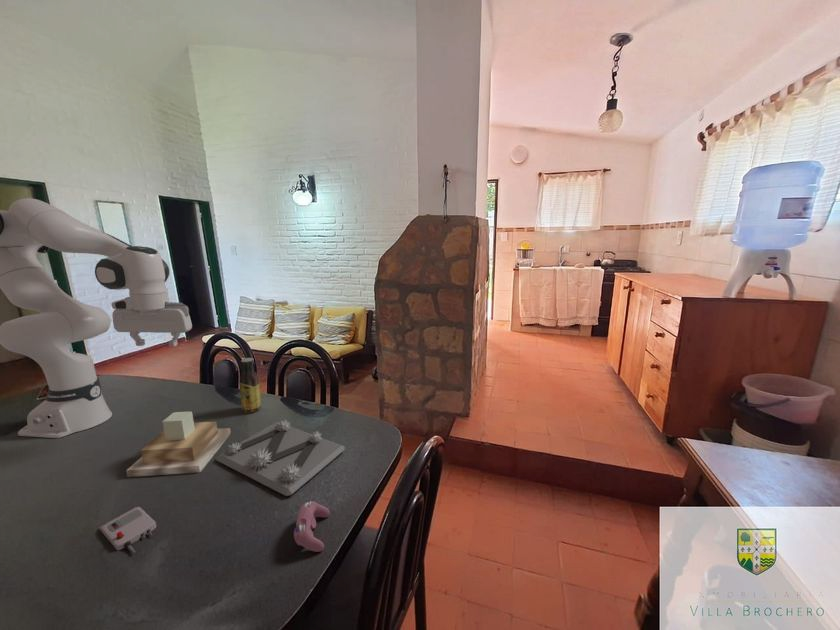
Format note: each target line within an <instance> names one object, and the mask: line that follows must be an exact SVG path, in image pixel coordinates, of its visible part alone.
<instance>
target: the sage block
mask: <svg viewBox="0 0 840 630" xmlns="http://www.w3.org/2000/svg"><path fill="white" fill-rule="evenodd" d="M161 422H162V426H163V431H164V433H165V438H166V441H169V440H185V439H186V438H187V437H188V436H189V435H190V434H191V433H192V432H193V431H194V430H195V427H194V423H195V421H194V415H193V411H175V412H172V413H171V414H170V415H169V416H167V417H166V418H165V419H163V420H162V421H161Z"/></svg>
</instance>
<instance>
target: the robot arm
mask: <svg viewBox="0 0 840 630" xmlns="http://www.w3.org/2000/svg"><path fill="white" fill-rule="evenodd" d="M51 249H52V250H54V251H56V252H61V253H70V254H71V253H73V254H88V255H89V254H91V255H99V256H105V257H106V258H101V259H100V260H99V261H97V263H96V264H95V267H94V276H95V279H96V281H97V282H98V283H99V284H100V285H101V286H103V287H104V288H106V289H108V290H116V291H120V290H127V289H128V290H129V292H128V293H129V296H127V297H125V298H122V299H120V300H115V301H113V302H111V307H112V309H114V310H113V311H112V314H111V315H112V316H111V317H112V318H111V317H110V315H109V314H108V313H107V312H106V311H105V309H103V308H101V307H97V306H92V305H90V304H87V303H84V302H82V301H79V300H77V299H76V298H74V297H72V296H71V295H69V294H67V292H64V290H62V289H61V287H60V286H59V285H58V284H57V283H56V281H54V280H53V278H52V277H51V275H50V274H49V272H47V270H46V268H45V267H44V266H43V265H42V264H41V262H40V260H39V259H38V257H37V253H39V254H46V253H49V252H50V250H51ZM169 276H170V268H169V265H168V264H167V263H166V261H165V260H164V259H163V258H162V257H161V254H160V252H159V251H158V250H157V249H155V248H152V247H148V246H140V245H131V244H129V243H127V242H126V241H123V240H121V239H119V238H118V237H115V236H113V235H112V234H109V233H106V232H104V231H101V230H100V229H97V228H95V227H92V226H90V225H88V224H86V223H84V222H83V221H81V220H79V219H76V218H75V217H73V216H71V215H70V214H68V213H66V212H65V211H63V210H62V209H60V208H58V207H56V206H54V205H52V204H49V203H47V202H45V201H43V200H40V199H36V198H33V197H32V198H31V197H30V198H29V197H27V198H26V197H25V198H24V197H23V198H19V199H17V200H15V201H14V202H12V203H11V204H10V205H9V208H8V210H4V209H0V290H1V292H2V293H3V294H4V296H5V297H6V298H7V299H8V301H9V302H10V303H11V304H13V305H14V306H16V308H17V307H18V308H20V309H25V310H29V311H30V310H31V311H35V312H38V313H36V314H35V313H34V314H29V315H24V316H20V317H17V318H14V319H10V320H7V321H4V322H2V323H1V325H0V345H1V346H2V347H3V348H4V349H5V350H7V351H10V352H12V353H15V354H18V355H19V354H20V355H23V356H26V357H28V358H30V359H31V360H34V361H35V363H37V364H38V365H39V367H40V368H41V370H42V372H43V374H44V376H45V379H46V382H47V386H48V387H47V389H45V390H42V391H41V392H40V394H41V396H44V395H46V396H45V400H44V401H43V402H41V403H40V404H39V405H37V406H35V407H34V409H32V410H31V411H30V412H29V413H28V414H27V417H26V422H27V425H25V426H24V427H22V428H20V430H18V432H17V436H20V437H34V438H35V437H36V438H49V439H59V438H62V437H66V436H68V435H71V434H74V433H79V432H82V431H85V430H88V429H90V428H94V427H96V426H98V425H100V424H103V423H104V422H106V421H108V420H109V419H110V418H111V417H112V416H113V413H112V411H111V410H110V408H109V406H108V405H107V402H106V400H105V398H104V395H103V393H102V386H101V380H100V379H99V378H98V376H97V372H96V368H95V363H94V360H93V358H92V357H90V356H89V355H87V354H85V353H79V352H71V351H70V350H69V348H68V345H70V344H72V343H76V342H81V341H86V340H89V339H93V338H95V337H98V336H100V335H103V334H105V333H106V332H108V331H109V330H110V327H111V322H112V325H113V329H114V330H115V331H116V332H118V333H129V337H131V339H133V341H134V342H135V343H134V344H135V346H137V347H142V346H145V345H146V341H145V339H144V338H142V337H141V336H140V334H141V333H163V334H164V333H166V334H167V333H169V334H170V336H171V337H172V338H171V340H168V346H169V347H176V346H178V339H179V337H180V335H181V334H185V333H188V332H190V331H191V330H192V329H193V324H192V320H191V316H190V309H189V307H188V305H186V304H184V302H179V301H178V302H173V301H170V300H169V298H170V297H169V293H168V289H167V286H166V284H165V283H166V282H167V280H168V279H169ZM111 319H112V321H111Z"/></svg>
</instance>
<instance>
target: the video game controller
mask: <svg viewBox="0 0 840 630" xmlns="http://www.w3.org/2000/svg"><path fill="white" fill-rule="evenodd" d="M330 515H331V513H330V510H329V508H328V507H326V506H324V505H322V504H319V503H317V502H316V501H313V500H311V501H307V502H305V503H303V504H302V505H301V507H300V508H299V511H298V513H297V516H296V517H297V518H296V524H295V528H294V530H293V537H294V541H295V543H296V544H297V546H301V547H303V548H304V549H306V550H307V551H311V552H315V553H319V552H322V551H324V549H325V544H324V542H322V540H320V539H318V538H317V537H315V536H314V532H313V530H314V529H315V528H316V527H317V521H316V517H318V518H328V517H330Z"/></svg>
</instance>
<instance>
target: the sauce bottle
mask: <svg viewBox="0 0 840 630" xmlns="http://www.w3.org/2000/svg"><path fill="white" fill-rule="evenodd" d="M254 364H255V359H254V358H253V357H245V358H242V359H241V360H240V365H241V370H242V371H241V375H240V378H239V381H238V382H239V391H240V392H239V394H240V402H241V403H240V404H241V408H242V412H243V413H245V414H252V412H253V413H256V412H258V411H259V410H261V408H262V406H261V405H262V401H261V390H260V381H259V375H258V373H256V371H255V365H254ZM257 410H258V411H257Z"/></svg>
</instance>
